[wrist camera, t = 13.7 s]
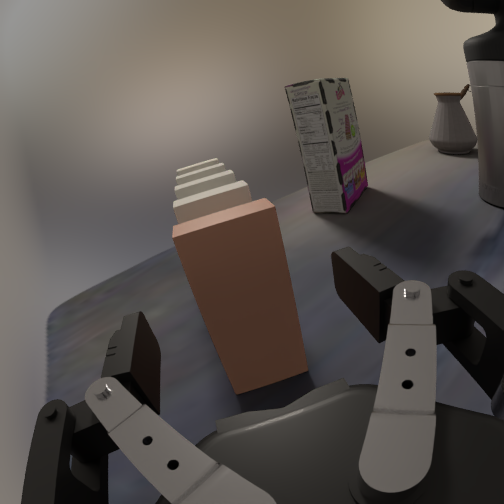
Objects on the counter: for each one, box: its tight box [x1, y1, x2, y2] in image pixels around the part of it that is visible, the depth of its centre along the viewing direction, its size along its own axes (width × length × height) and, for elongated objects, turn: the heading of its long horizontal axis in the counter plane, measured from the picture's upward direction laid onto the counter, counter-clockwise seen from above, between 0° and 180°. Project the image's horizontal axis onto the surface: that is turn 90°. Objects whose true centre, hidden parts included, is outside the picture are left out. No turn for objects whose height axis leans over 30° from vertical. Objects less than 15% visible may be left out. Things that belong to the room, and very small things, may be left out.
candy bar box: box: [285, 78, 368, 213], centre depth 38 cm, size 11×5×16 cm, turn 146°
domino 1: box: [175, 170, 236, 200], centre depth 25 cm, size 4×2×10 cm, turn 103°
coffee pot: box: [429, 84, 477, 154], centre depth 53 cm, size 21×12×15 cm, turn 120°
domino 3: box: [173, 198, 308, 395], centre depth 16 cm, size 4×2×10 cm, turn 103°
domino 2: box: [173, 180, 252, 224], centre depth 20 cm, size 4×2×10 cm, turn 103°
